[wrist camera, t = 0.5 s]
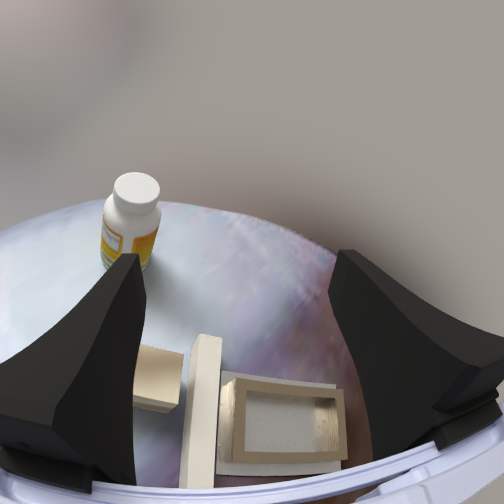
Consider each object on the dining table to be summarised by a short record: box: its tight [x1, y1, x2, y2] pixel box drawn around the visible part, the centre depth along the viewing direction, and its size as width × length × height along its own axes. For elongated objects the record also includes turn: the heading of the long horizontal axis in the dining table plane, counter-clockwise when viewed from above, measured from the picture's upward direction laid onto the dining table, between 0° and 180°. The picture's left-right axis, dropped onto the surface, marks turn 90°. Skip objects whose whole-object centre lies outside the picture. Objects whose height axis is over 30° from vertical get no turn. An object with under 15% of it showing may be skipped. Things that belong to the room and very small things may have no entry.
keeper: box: [215, 370, 348, 476], centre depth 26 cm, size 10×13×2 cm
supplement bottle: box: [101, 172, 161, 271], centre depth 28 cm, size 5×5×10 cm
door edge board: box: [179, 333, 222, 489], centre depth 21 cm, size 20×2×3 cm, turn 179°
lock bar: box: [133, 344, 184, 414], centre depth 22 cm, size 4×8×5 cm, turn 89°
